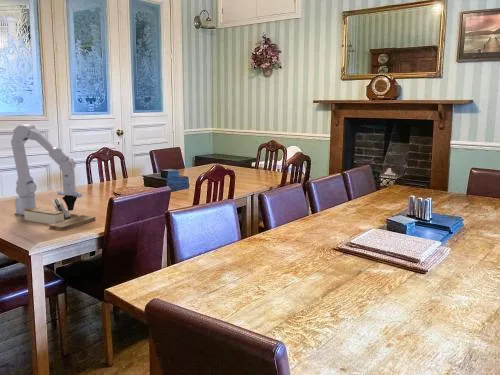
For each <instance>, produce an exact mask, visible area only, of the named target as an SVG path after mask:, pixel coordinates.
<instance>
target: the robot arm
mask: <svg viewBox="0 0 500 375" xmlns="http://www.w3.org/2000/svg"><path fill="white" fill-rule="evenodd" d="M29 140H31V141H36V142H37V143H38V144H39V145H40V146H41V147H42V148H44V150H46V151H47V152H48V156H49V157H50V158H51V159H52V160H53V161H54V162H55V163H56V164H57V165H58V166H59V170H61V178H62V179H61V180H62V190H57V193H56V194H57V196H63V197H62V200H63V201H64V203H65V205H66V208H67V209H68V211H69V212H72V211H74V208H75V203H76V201H77V199H78V198H79V199H80V198H83V193H82V192H79V191H77V190H76V179H75V178H76V176H75V168H76V161H75V160H74V159H73V158H70V157H69V156H68V155H66V154H65V153H64V152H63V149H62V148H59V147H56V146H55V147H54V145H53V144H52V143H50V141H49V140H48V139H47V138H46V137H45V136H44V135H43V134H42V133H41V130H39V129H38V128H37V127H35V125H34V124H33V123H28V124H20V125H19V124H18V125H17V126H16V127H15V128H14V129H13V134H12V137H11V139H10V144H11V149H12V154H13V158H14V163H15V164H14V165H15V168H16V174H17V179H16V182H15V184H16V187H15V192H16V195H17V196H15V199H14V208H15V212H14V214H16V215H21V216H25V215H24V209H28V208H32V207H34V208H37V204H36V194H35V193H36V191H37V184H36V183H35V181H34V178H33V177H32V176H31V173H30V168H29V163H28V158H27V153H26V148H25V143H26V142H27V141H29Z"/></svg>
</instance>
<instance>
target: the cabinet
mask: <svg viewBox="0 0 500 375" xmlns="http://www.w3.org/2000/svg"><path fill="white" fill-rule="evenodd" d="M23 216H24V221H30V222H37V223H42V224H48V225H51V224H54V223H58V222H61V221H64V220H65V217H64V212H62V211H56V209H55V210H53V209H47V208H46V209H45V208H41V207H36V208H34V207H32V208H28V209H24V215H23Z"/></svg>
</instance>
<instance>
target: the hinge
mask: <svg viewBox="0 0 500 375" xmlns="http://www.w3.org/2000/svg"><path fill="white" fill-rule="evenodd" d="M51 202H52V205H53V206H54V209H55V211H62V212H64V219H65V218H66V219H67V218H69V219H71V218H73V217H72V215H71V213H70V211H68V208H67V207H65V206H64V203H63V202H62V200H61V197H57V198H56V199H52V200H51Z"/></svg>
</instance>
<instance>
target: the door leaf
mask: <svg viewBox="0 0 500 375" xmlns="http://www.w3.org/2000/svg"><path fill="white" fill-rule="evenodd" d="M93 221H96V216H91V215H84V214H81V215H78V216H75V217H72V218H68V219H64V221H61V222H58V223H54V224H48V229H52V230H56V229H57V231H62V230H63V231H65V230H68V229H71V228H75V227H78V226H81V225H84V224H87V223H91V222H93Z"/></svg>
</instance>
